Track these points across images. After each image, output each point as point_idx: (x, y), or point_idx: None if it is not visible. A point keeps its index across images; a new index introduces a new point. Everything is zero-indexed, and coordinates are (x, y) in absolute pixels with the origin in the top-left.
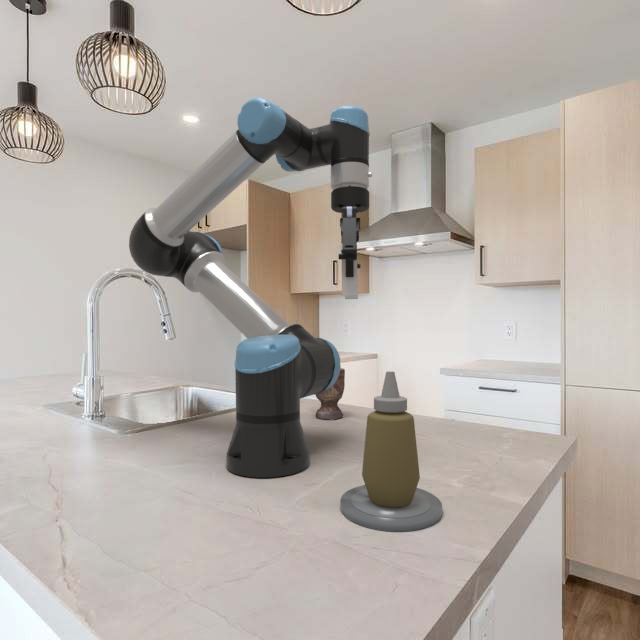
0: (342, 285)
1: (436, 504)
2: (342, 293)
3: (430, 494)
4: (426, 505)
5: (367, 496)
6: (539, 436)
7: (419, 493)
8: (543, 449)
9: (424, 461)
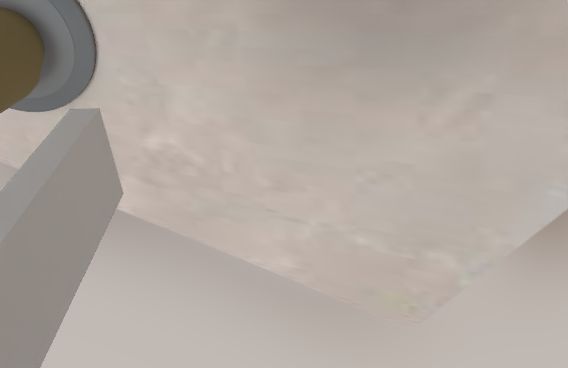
0: (40, 148)
1: (28, 104)
2: (65, 118)
3: (64, 101)
4: None
5: (11, 2)
6: (425, 295)
7: (58, 86)
8: (347, 280)
9: (263, 107)
